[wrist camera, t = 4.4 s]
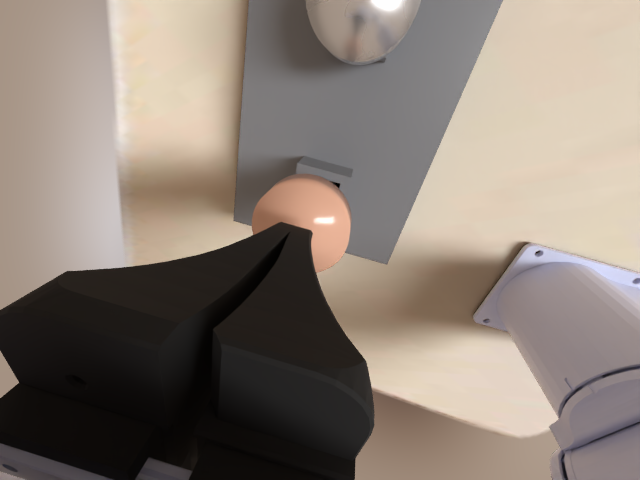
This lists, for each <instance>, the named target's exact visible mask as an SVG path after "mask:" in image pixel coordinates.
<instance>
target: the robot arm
mask: <svg viewBox="0 0 640 480" xmlns="http://www.w3.org/2000/svg"><path fill="white" fill-rule="evenodd" d="M312 235H313V233H312V231H311V230H309V229H305V228H302V227H298V226H295V225H291V224H287V223H284V222H279V223H277V224H275V225H273V226H271V227H269V228H267V229H265V230H263V231H261V232H259V233H257V234H255V235H253V236H251V237H248V238H246V239H243V240H241V241H239V242H236V243H234V244H231V245H229V246H226V247H223V248H220V249H217V250H214V251H210V252H207V253H203V254H200V255H196V256H191V257H186V258H182V259H177V260H172V261H168V262H162V263H155V264H149V265H141V266H133V267H124V268H113V269H98V270H84V271H67V272H65V273H63V274H61V275H60V276H58V277H56V278H55V279H53V280H51V281H49V282H48V283H46V284H44V285H42V286H41V287H39V288H37V289H36V290H34V291H32V292H30V293H29V294H27V295H25V296H24V297H22V298H20V299H19V300H17V301H15V302H14V303H12V304H10V305H8V306H7V307H5V308H3V309H1V310H0V351H1V352H2V354H3V356H4V357H5V359H6V361H7V362H8V364H9V366H10V367H11V369H12V371H13V373H14V374H15V376H16V378H17V379H18V381H19V383H18V384H17V385H16V386H15V387H14V388H12V389H11V390H10V391H9V392H8V393H6V394H5V395H4V396H3V397H2V398H0V480H354V479H355V458H356V456H357V455H358V453H359V452H360V450H361V449H362V447H363V446H364V444H365V443H366V441H367V440H368V438H369V436H370V435H371V433H372V430H373V427H374V403H373V395H372V388H371V382H370V377H369V372H368V367H367V363H366V361H365V359H364V358H363V357H362V355H361V354H360V353H359V351H358V350H357V349H356V348H355V346H354V345H353V344H352V342H351V341H350V340H349V339H348V337H347V336H346V335H345V333H344V331H343V330H342V328H341V327H340V325H339V324H338V322H337V320H336V318H335V316H334V315H333V313H332V311H331V309H330V307H329V305H328V303H327V301H326V299H325V297H324V295H323V292H322V290H321V287H320V284H319V281H318V278H317V275H316V271H315V267H314V263H313V257H312V249H311V239H312ZM539 250H540V252H539V253H537V254H535V252H537V251H539ZM634 279H635V280H634ZM473 319H474V321H475V322H476V323H479V324H482V325H486V326H489V327H493V328H496V329H500V330H503V331H507V332H509V334H510V336H511V337H512V339H513V341H514V343H515V344H516V346H517V348H518V349H519V351H520V353H521V355H522V356H523V358H524V360H525V361H526V363H527V365H528V367H529V368H530V370H531V372H532V373H533V375H534V377H535V379H536V380H537V382H538V384H539V385H540V387H541V389H542V391H543V392H544V394H545V396H546V397H547V399H548V401H549V403H550V404H551V406H552V408H553V409H554V411H555V413H556V414H557V416H558V418H559V419H558V420H557V421H556V422H555V423H553V424H551V425H550V426H549V428H550V429H551V431H552V433H553V435H554V437H555V439H556V441H557V442H558V444H559V446H560V448H559V449H557V450H556V451H554V452H553V453H552V455H551V458H550V471H551V477H552V480H640V273H638V272H635V271H631V270H627V269H624V268H620V267H617V266H613V265H609V264H606V263H602V262H599V261H595V260H591V259H588V258H584V257H581V256H577V255H573V254H570V253H566V252H563V251H559V250H555V249H552V248H548V247H545V246H541V245H537V244H534V243H530V244H527V245H525V246H524V247H523V248H522V249H521V250H520V252H519V253H518V255H517V256H516V257H515V259H514V260H513V261H512V263H511V264H510V266H509V267H508V268H507V270H506V271H505V272H504V274H503V275H502V277H501V278H500V279H499V281H498V282H497V283H496V285H495V286H494V288H493V289H492V290H491V292H490V293H489V294H488V296H487V297H486V298H485V300H484V301H483V303H482V304H481V305H480V307H479V308H478V309H477V311H476V312H475V314H474V315H473ZM484 319H487V320H484ZM6 473H7V474H6ZM9 474H10V475H9ZM12 475H13V476H12ZM15 476H16V477H15ZM18 477H19V478H18ZM21 478H22V479H21Z"/></svg>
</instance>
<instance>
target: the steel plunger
mask: <svg viewBox="0 0 640 480" xmlns="http://www.w3.org/2000/svg"><path fill="white" fill-rule="evenodd" d="M420 2H421V0H306V8H307V13H308V17H309V20H310V23H311V26H312V28H313V30H314V32H315V34H316V36H317V37H318V39H319V40H320V42H321V43H322V44H323V45H324V46H325V48H326V49H327V50H328V51H329V52H330V53H331V54H332V55H333V56H335V57H336V58H337V59H339V60H341V61H343V62H345V63H348V64H353V65H365V64H370V63H374V62H376V61H378V60H380V59H382V58H384V57H385V56H387V55H388V54H389V53H390V52H392V51H393V50H394V49H395V48H396V47H397V46H398V44H399V43H400V42H401V40H402V39H403V38H404V36H405V34H406V33H407V31H408V29H409V28H410V26H411V24H412V22H413V20H414V18H415V16H416V14H417V11H418V9H419V6H420Z"/></svg>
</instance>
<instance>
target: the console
mask: <svg viewBox="0 0 640 480" xmlns="http://www.w3.org/2000/svg"><path fill="white" fill-rule="evenodd" d="M502 1H503V0H421V2H420V6H419V9H418V11H417V14H416V16H415V18H414V20H413V22H412V24H411V26H410V28H409V29H408V31H407V33H406V34H405V36H404V38H403V39H402V40H401V42H400V43H399V44H398V46H397V47H396V48H395V49H394V50H393V51H392V52H390V53H389V54H388V55H387V56H385V57H384V58H382V59H380V60H378V61H376V62H374V63H370V64H365V65H353V64H348V63H345V62H343V61H341V60H339V59H337V58H336V57H335V56H333V55H332V54H331V53H330V52H329V51H328V50H327V49H326V48H325V46H324V45H323V44H322V43H321V42H320V40H319V39H318V37H317V36H316V34H315V32H314V30H313V28H312V26H311V23H310V20H309V17H308V13H307V8H306V0H249V6H248V20H247V35H246V49H245V63H244V78H243V92H242V107H241V121H240V135H239V150H238V164H237V179H236V193H235V207H234V221H236V222H240V223H243V224H247V225H250V226H252V217H253V212H254V209H255V207H256V205H257V203H258V202H259V200H260V199H261V198H262V197H263V196H264V195H265V194H266V193H267V192H268V191H269V190H270V189H271V188H272V187H273V186H274V185H275V184H276V183H278V182H279V181H280V180H282V179H284V178H286V177H288V176H291V175H295V174H313V175H317V176H320V177H323V178H325V179H327V180H329V181H333V182H336V183H340V188H339V189H340V190H341V192H342V193H343V194H344V196H345V197H346V199H347V201H348V203H349V206H350V210H351V217H352V221H351V229H350V236H349V242H348V246H347V248H346V251H345V253H348V254H352V255H355V256H359V257H362V258H366V259H369V260H373V261H376V262H380V263H383V264H387V263H388V261H389V259H390V257H391V254H392V252H393V250H394V247H395V245H396V243H397V241H398V238H399V236H400V234H401V231H402V229H403V227H404V225H405V222H406V220H407V218H408V216H409V213H410V211H411V209H412V206H413V204H414V202H415V200H416V197H417V195H418V193H419V190H420V188H421V186H422V184H423V181H424V179H425V177H426V174H427V172H428V170H429V168H430V165H431V163H432V161H433V159H434V156H435V154H436V152H437V149H438V147H439V145H440V143H441V140H442V138H443V136H444V133H445V131H446V129H447V127H448V124H449V122H450V120H451V117H452V115H453V113H454V111H455V108H456V106H457V104H458V102H459V99H460V97H461V95H462V92H463V90H464V88H465V86H466V83H467V81H468V79H469V76H470V74H471V72H472V70H473V67H474V65H475V63H476V61H477V58H478V56H479V54H480V51H481V49H482V47H483V45H484V42H485V40H486V38H487V35H488V33H489V31H490V29H491V26H492V24H493V22H494V19H495V17H496V15H497V13H498V10H499V8H500V6H501V4H502Z"/></svg>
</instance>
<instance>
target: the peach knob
mask: <svg viewBox="0 0 640 480" xmlns="http://www.w3.org/2000/svg"><path fill="white" fill-rule="evenodd" d="M351 221H352V217H351V210H350V206H349V203H348V201H347V199H346V197H345V196H344V194H343V193H342V192H341V190H340V189H339V188H338V187H337V186H335V183H332V182H330V181H329V180H327V179H325V178H323V177H320V176H317V175H313V174H295V175H291V176H288V177H286V178H284V179H282V180H280V181H279V182H278V183H276V184H275V185H274V186H273V187H272V188H271V189H270V190H269V191H268V192H267V193H266V194H265V195H264V196H263V197H262V198H261V199H260V200H259V202H258V203H257V205H256V207H255V209H254V212H253V217H252V231H253V235H255V234H257V233H259V232H261V231H263V230H265V229H267V228H269V227H271V226H273V225H275V224H277V223H279V222H284V223H287V224H291V225H295V226H298V227H302V228H305V229H309V230H311V231H312V233H313V235H312V239H311V249H312V257H313V263H314V267H315V271H316V272H320V271H323V270H326V269H328V268H330V267H331V266H333V265H334V264H335V263H337V262H338V261H339V260H340V258H341V257H342V256H343V254H344V253H345V251H346V248H347V246H348V242H349V236H350V229H351Z"/></svg>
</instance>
